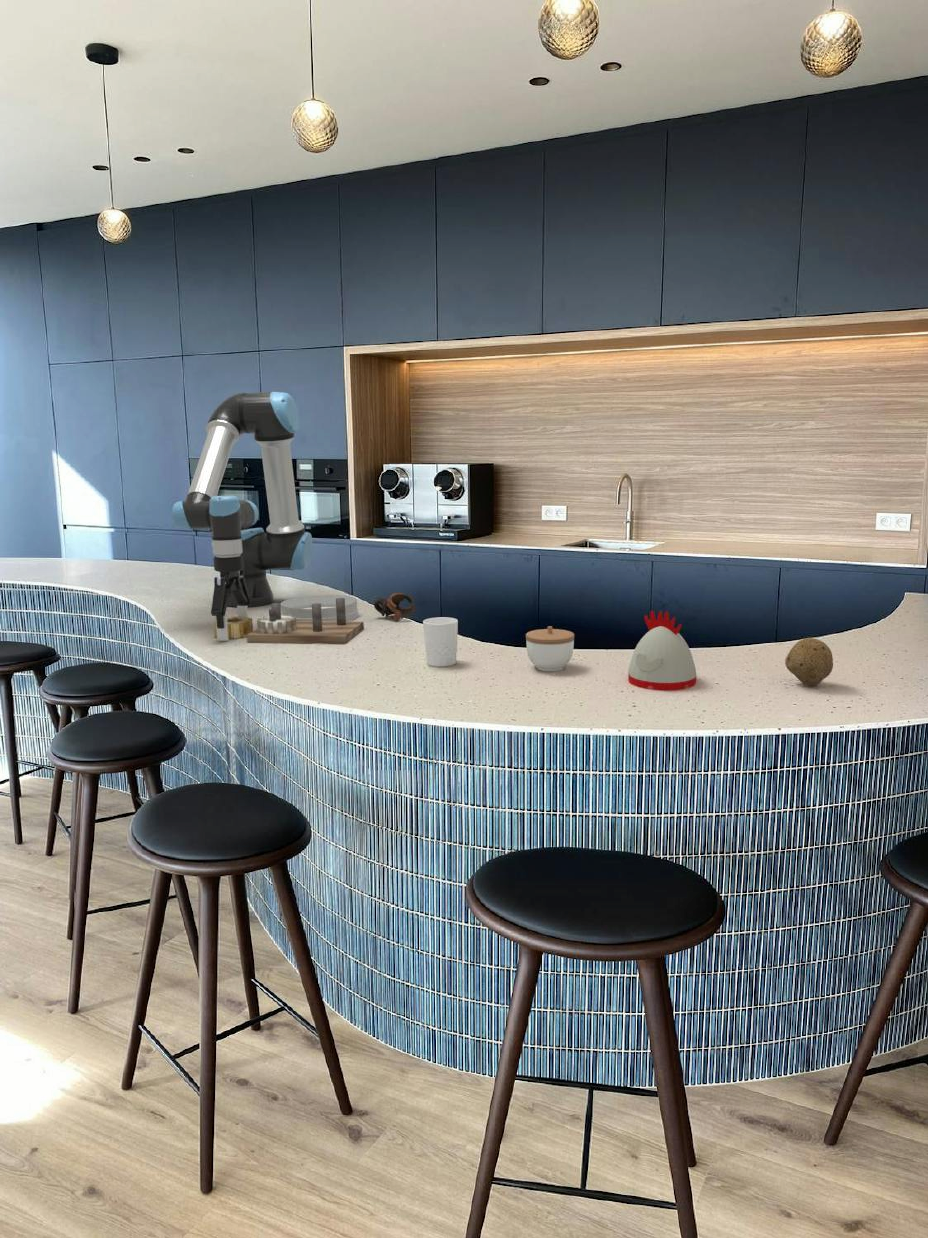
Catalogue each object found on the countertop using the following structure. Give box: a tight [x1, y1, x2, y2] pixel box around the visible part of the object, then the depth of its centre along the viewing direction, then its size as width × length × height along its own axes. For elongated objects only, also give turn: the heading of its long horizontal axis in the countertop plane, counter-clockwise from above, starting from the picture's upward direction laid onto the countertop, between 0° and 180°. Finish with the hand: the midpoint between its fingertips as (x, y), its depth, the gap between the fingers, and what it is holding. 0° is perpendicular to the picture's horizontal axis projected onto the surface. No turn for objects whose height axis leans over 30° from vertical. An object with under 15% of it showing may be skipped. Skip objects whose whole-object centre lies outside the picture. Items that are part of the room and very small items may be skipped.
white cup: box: [422, 616, 459, 668], centre depth 210 cm, size 8×8×10 cm
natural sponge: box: [784, 637, 834, 688], centre depth 186 cm, size 9×9×10 cm
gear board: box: [246, 598, 365, 645], centre depth 242 cm, size 18×26×9 cm
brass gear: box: [212, 616, 254, 640], centre depth 245 cm, size 10×10×4 cm
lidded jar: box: [525, 625, 575, 672], centre depth 204 cm, size 11×11×9 cm
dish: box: [280, 594, 359, 621], centre depth 265 cm, size 22×22×5 cm
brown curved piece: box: [372, 592, 416, 622], centre depth 261 cm, size 12×10×8 cm
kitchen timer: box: [627, 610, 697, 691], centre depth 191 cm, size 14×14×15 cm
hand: (233, 634), depth 245 cm, fingers open, 13 cm apart
